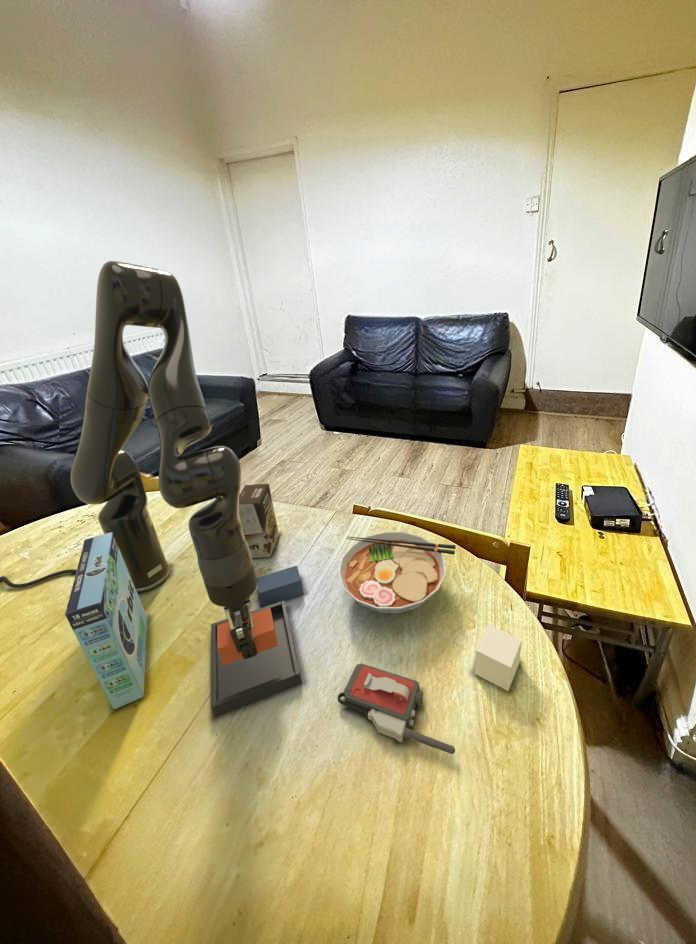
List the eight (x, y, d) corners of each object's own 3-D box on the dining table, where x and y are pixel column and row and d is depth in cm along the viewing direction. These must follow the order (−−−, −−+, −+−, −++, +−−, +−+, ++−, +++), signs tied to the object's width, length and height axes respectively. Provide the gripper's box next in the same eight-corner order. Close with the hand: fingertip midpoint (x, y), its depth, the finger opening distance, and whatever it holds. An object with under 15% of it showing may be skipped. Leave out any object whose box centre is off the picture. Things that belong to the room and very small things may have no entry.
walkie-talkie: (331, 717, 67) (453, 764, 60) (328, 700, 65) (453, 746, 58) (354, 669, 74) (465, 706, 67) (352, 652, 72) (465, 688, 65)
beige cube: (519, 663, 74) (522, 639, 71) (508, 691, 69) (511, 667, 67) (486, 647, 77) (488, 624, 74) (474, 673, 72) (475, 650, 70)
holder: (214, 717, 68) (211, 707, 67) (214, 633, 83) (211, 623, 82) (302, 683, 73) (300, 673, 71) (286, 609, 88) (284, 600, 86)
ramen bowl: (320, 623, 84) (315, 593, 80) (356, 548, 104) (353, 522, 100) (443, 648, 77) (443, 616, 74) (456, 563, 97) (457, 535, 94)
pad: (223, 665, 68) (217, 649, 66) (222, 641, 72) (216, 625, 71) (277, 645, 71) (273, 629, 69) (274, 623, 75) (270, 607, 73)
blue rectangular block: (262, 607, 88) (258, 593, 87) (259, 590, 93) (256, 577, 91) (303, 593, 91) (301, 580, 90) (299, 578, 95) (296, 565, 94)
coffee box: (271, 557, 102) (259, 503, 96) (245, 558, 103) (232, 504, 96) (280, 534, 111) (269, 482, 104) (256, 534, 111) (244, 483, 104)
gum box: (122, 626, 86) (82, 539, 76) (149, 616, 88) (114, 530, 78) (112, 711, 70) (60, 614, 60) (146, 697, 72) (100, 601, 62)
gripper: (202, 546, 69) (225, 618, 76) (201, 609, 57) (228, 688, 64) (248, 533, 71) (266, 605, 79) (256, 591, 59) (276, 670, 66)
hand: (249, 642), depth 71 cm, fingers closed on pad, 5 cm apart
